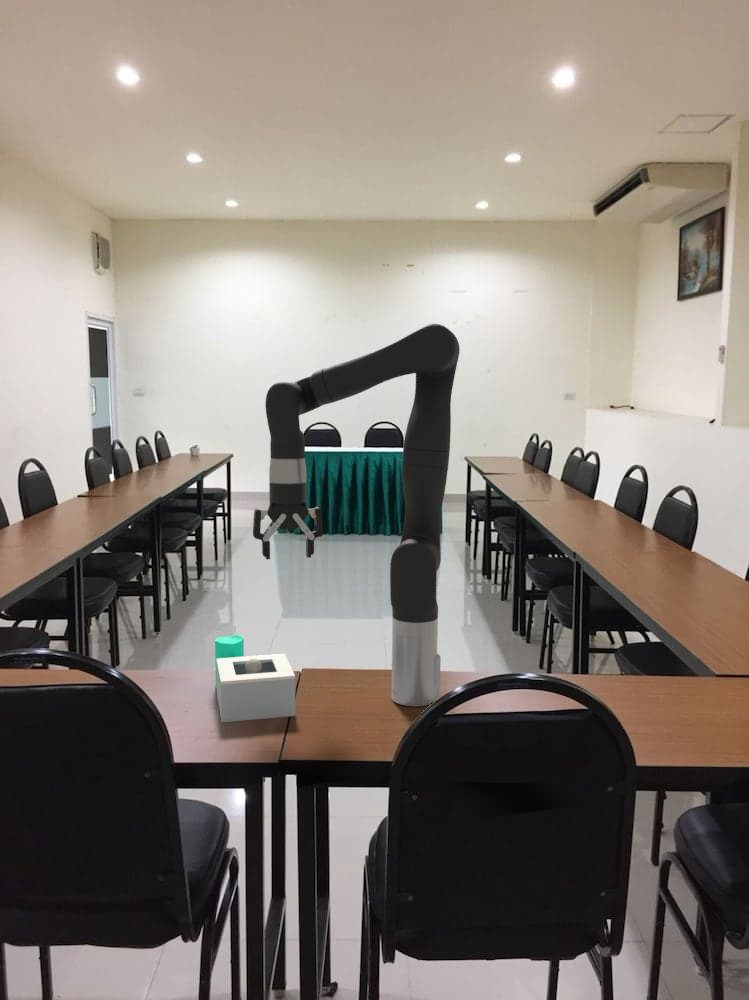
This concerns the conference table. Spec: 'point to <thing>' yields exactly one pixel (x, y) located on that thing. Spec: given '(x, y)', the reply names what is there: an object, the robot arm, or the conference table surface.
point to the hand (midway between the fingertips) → (288, 557)
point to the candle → (228, 648)
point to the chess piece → (253, 666)
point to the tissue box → (255, 688)
